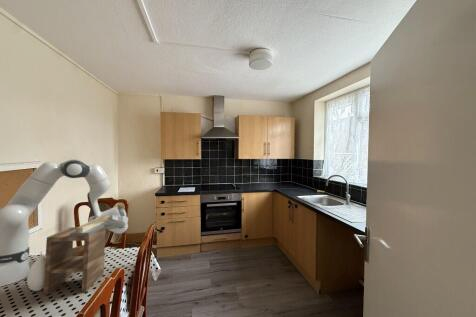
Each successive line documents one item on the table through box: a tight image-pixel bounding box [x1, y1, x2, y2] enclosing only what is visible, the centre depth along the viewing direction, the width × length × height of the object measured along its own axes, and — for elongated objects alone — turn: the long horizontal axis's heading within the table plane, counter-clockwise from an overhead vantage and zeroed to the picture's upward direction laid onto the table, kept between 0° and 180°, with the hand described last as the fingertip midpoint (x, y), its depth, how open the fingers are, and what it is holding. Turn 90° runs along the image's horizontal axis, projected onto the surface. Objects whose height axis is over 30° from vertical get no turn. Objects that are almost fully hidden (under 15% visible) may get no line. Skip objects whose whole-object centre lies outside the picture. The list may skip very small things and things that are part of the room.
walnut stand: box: [42, 226, 107, 296], centre depth 94 cm, size 18×14×26 cm
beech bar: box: [76, 216, 108, 233], centre depth 99 cm, size 3×22×2 cm, turn 8°
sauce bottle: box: [26, 251, 46, 292], centre depth 89 cm, size 8×8×18 cm
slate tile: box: [70, 224, 104, 236], centre depth 95 cm, size 8×13×2 cm, turn 8°
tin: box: [72, 244, 84, 256], centre depth 116 cm, size 15×3×8 cm, turn 139°
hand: (102, 217), depth 107 cm, fingers open, 8 cm apart
